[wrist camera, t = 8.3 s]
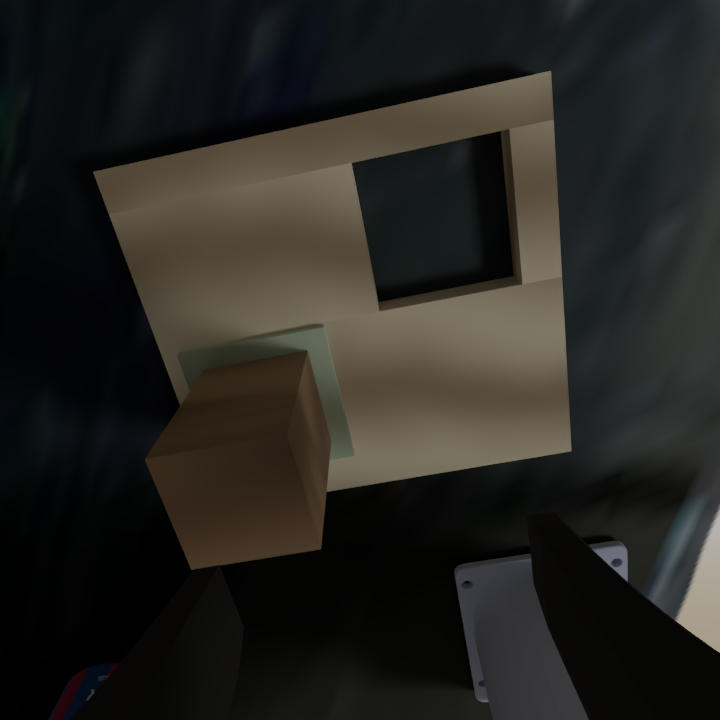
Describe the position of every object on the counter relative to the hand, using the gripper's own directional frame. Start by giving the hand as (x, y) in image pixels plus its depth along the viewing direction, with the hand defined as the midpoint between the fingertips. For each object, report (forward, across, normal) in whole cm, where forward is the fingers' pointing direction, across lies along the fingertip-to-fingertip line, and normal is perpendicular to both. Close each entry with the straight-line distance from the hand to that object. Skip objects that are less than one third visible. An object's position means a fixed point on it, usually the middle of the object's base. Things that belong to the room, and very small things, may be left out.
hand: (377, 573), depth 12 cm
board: (+10, 0, -3) cm, 11 cm away
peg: (+9, +4, 0) cm, 10 cm away
